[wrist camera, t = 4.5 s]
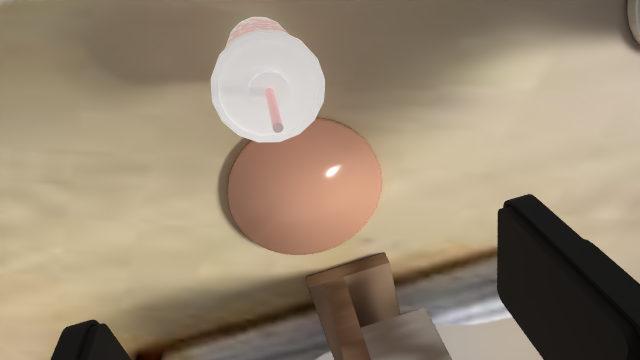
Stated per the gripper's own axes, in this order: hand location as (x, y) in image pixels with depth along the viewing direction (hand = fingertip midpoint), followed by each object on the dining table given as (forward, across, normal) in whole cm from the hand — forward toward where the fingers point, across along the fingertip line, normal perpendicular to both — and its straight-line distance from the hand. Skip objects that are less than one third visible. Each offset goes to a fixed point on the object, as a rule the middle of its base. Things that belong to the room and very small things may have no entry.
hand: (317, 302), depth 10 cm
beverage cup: (+24, 0, 0) cm, 24 cm away
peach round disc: (+24, -1, +12) cm, 27 cm away
